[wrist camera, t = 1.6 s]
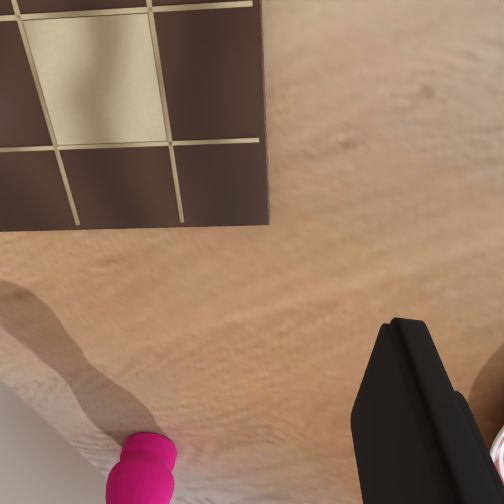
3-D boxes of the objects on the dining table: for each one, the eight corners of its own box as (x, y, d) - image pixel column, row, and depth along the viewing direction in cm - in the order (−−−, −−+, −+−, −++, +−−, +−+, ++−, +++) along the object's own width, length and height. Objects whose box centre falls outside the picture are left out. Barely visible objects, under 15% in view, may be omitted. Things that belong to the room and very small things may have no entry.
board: (256, -139, 25) (254, -145, 24) (269, 216, 36) (269, 225, 35) (-117, -108, 27) (-138, -113, 25) (8, 223, 38) (-3, 232, 37)
